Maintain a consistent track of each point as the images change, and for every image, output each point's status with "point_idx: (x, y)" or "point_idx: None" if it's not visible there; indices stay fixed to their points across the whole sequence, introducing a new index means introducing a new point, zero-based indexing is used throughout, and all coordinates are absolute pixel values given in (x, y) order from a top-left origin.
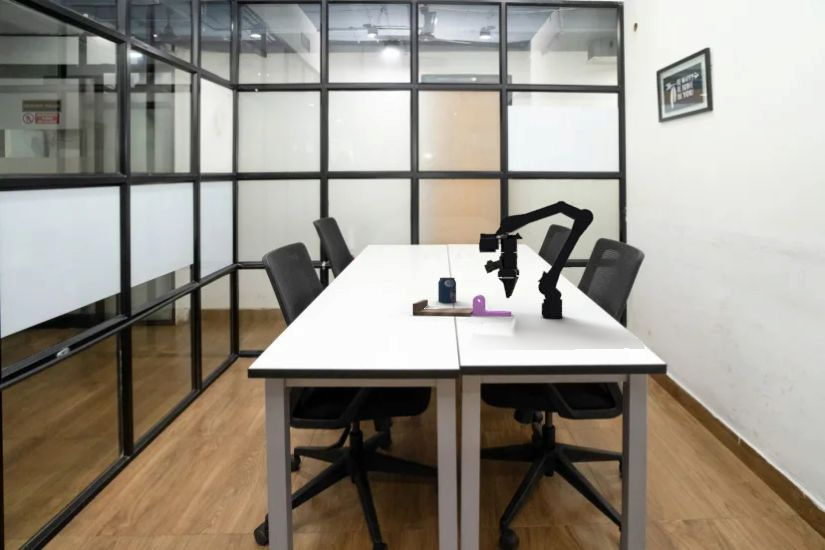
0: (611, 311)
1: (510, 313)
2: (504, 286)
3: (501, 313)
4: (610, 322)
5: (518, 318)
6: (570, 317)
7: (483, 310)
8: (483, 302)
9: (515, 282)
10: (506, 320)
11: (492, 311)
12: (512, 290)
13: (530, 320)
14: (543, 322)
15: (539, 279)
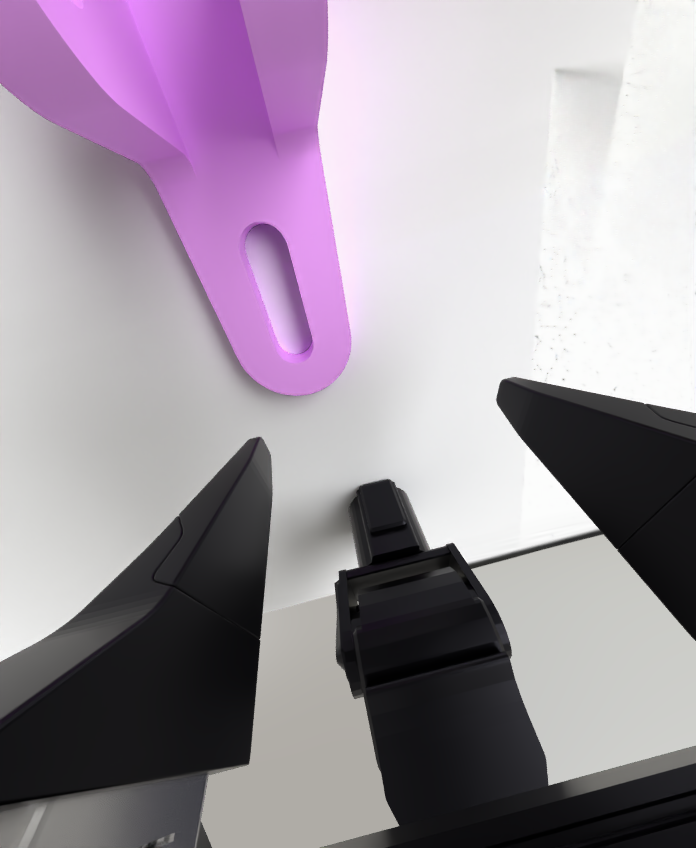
0: (510, 558)
1: (290, 391)
2: (152, 553)
3: (236, 348)
4: (269, 609)
5: (190, 453)
6: (336, 548)
7: (137, 162)
8: (69, 128)
9: (617, 538)
10: (45, 437)
11: (288, 245)
12: (534, 443)
13: (156, 506)
14: (135, 546)
15: (498, 674)
